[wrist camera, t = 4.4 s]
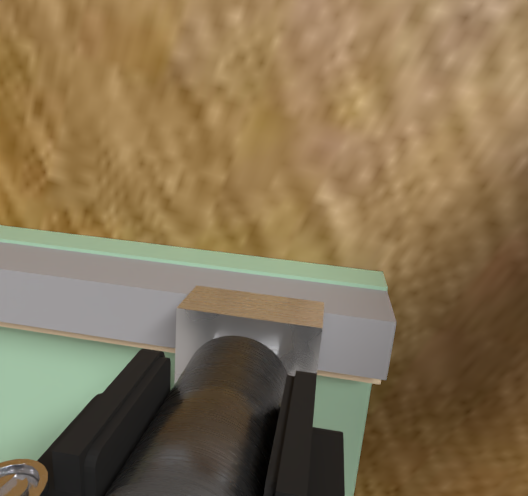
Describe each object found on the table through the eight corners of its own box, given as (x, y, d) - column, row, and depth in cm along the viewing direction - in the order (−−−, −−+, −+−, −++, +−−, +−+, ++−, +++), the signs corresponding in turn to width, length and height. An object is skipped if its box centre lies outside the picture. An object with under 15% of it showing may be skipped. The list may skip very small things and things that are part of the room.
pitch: (382, 271, 20) (401, 331, 14) (341, 531, 24) (342, 660, 18) (-200, 200, 24) (-371, 225, 18) (-151, 434, 28) (-279, 514, 22)
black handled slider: (326, 275, 18) (300, 615, 5) (301, 476, 20) (247, 1010, 8) (217, 261, 18) (-30, 541, 6) (206, 459, 21) (20, 933, 9)
